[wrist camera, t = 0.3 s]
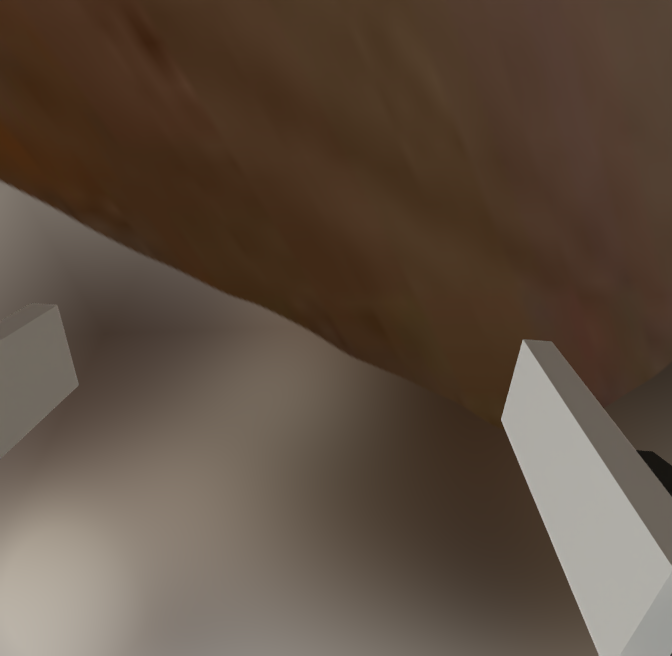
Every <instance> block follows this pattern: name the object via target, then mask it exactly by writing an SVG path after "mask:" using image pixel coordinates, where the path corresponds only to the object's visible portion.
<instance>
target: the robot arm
mask: <svg viewBox="0 0 672 656" xmlns="http://www.w3.org/2000/svg"><path fill="white" fill-rule="evenodd" d="M78 385H79V384H78V381H77V377H76V373H75V369H74V365H73V362H72V358H71V355H70V351H69V347H68V343H67V339H66V336H65V332H64V328H63V324H62V320H61V317H60V313H59V309H58V306H57V305H51V304H38V303H31V304H29V305H27V306H26V307H24V308H22V309H21V310H19V311H17V312H15V313H13V314H11V315H10V316H8V317H6V318H4V319H3V320H1V321H0V459H1V458H2V457H3V456H4V455H5V454H6V453H7V452H8V451H9V450H10V449H11V448H12V447H13V446H14V445H16V444H17V443H18V442H19V441H20V440H21V439H22V438H23V437H24V436H25V435H26V434H27V433H28V432H29V431H30V430H31V429H33V428H34V427H35V426H36V425H37V423H39V422H40V421H41V420H42V419H43V418H44V417H45V416H46V415H47V414H48V413H50V412H51V411H52V410H53V409H54V408H55V407H56V406H57V405H58V404H59V403H60V402H61V401H62V400H63V399H64V398H66V396H68V395H69V394H70V393H71V392H72V391H73V390H74V389H75V388H76V387H77V386H78ZM501 421H502V423H503V426H504V428H505V431H506V433H507V435H508V438H509V440H510V443H511V445H512V447H513V450H514V452H515V455H516V457H517V459H518V462H519V464H520V467H521V469H522V471H523V474H524V476H525V478H526V481H527V483H528V486H529V488H530V491H531V493H532V495H533V498H534V500H535V503H536V505H537V507H538V510H539V512H540V514H541V517H542V519H543V522H544V524H545V527H546V529H547V532H548V534H549V536H550V539H551V541H552V543H553V546H554V548H555V551H556V553H557V556H558V558H559V560H560V562H561V565H562V567H563V570H564V572H565V575H566V577H567V579H568V582H569V584H570V587H571V589H572V592H573V594H574V596H575V599H576V601H577V604H578V606H579V608H580V611H581V613H582V616H583V618H584V620H585V623H586V625H587V628H588V630H589V632H590V635H591V637H592V639H593V642H594V644H595V647H596V649H597V652H598V654H599V656H672V466H671V465H670V464H669V463H667V462H666V461H665V460H663V459H662V458H661V457H659V456H658V455H656V454H655V453H654V452H651V451H639V450H635V449H634V447H633V446H632V445H631V444H630V442H629V441H628V440H627V438H626V437H625V436H624V434H623V433H622V432H621V430H620V429H619V428H618V427H617V425H616V424H615V423H614V421H613V420H612V419H611V418H610V416H609V415H608V414H607V412H606V411H605V410H604V409H603V407H602V406H601V405H600V403H599V402H598V401H597V399H596V398H595V397H594V396H593V394H592V393H591V392H590V390H589V389H588V388H587V387H586V385H585V384H584V383H583V381H582V380H581V379H580V378H579V376H578V375H577V374H576V372H575V371H574V370H573V368H572V367H571V366H570V365H569V363H568V362H567V361H566V359H565V358H564V357H563V356H562V354H561V353H560V352H559V350H558V349H557V348H556V347H555V345H554V344H553V343H552V342H551V341H538V340H524V339H523V341H522V345H521V349H520V352H519V356H518V360H517V363H516V367H515V371H514V374H513V378H512V382H511V385H510V389H509V393H508V396H507V400H506V404H505V407H504V411H503V414H502V418H501Z"/></svg>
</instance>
